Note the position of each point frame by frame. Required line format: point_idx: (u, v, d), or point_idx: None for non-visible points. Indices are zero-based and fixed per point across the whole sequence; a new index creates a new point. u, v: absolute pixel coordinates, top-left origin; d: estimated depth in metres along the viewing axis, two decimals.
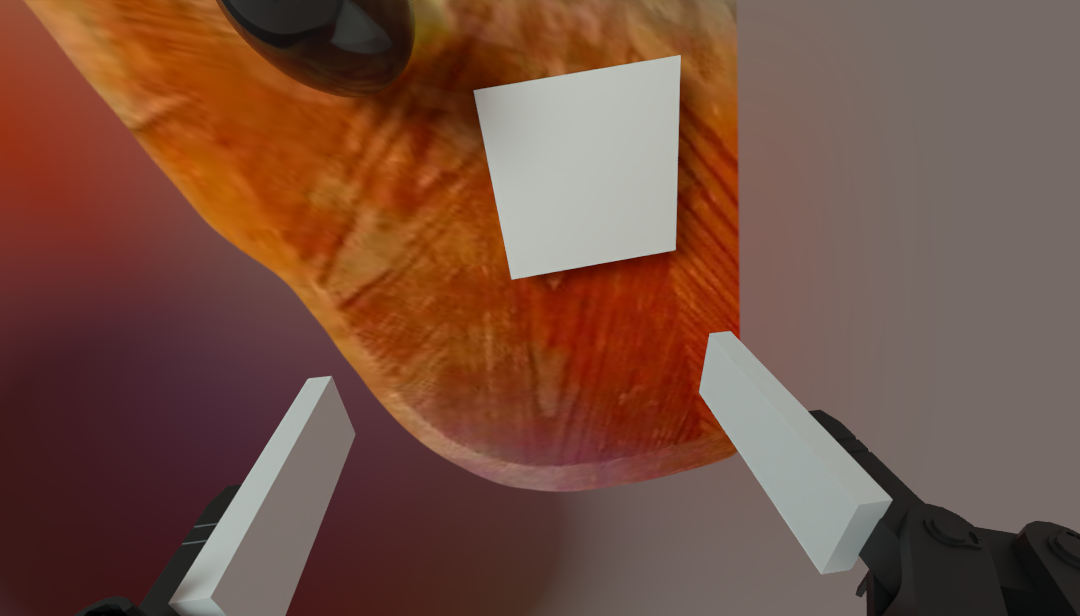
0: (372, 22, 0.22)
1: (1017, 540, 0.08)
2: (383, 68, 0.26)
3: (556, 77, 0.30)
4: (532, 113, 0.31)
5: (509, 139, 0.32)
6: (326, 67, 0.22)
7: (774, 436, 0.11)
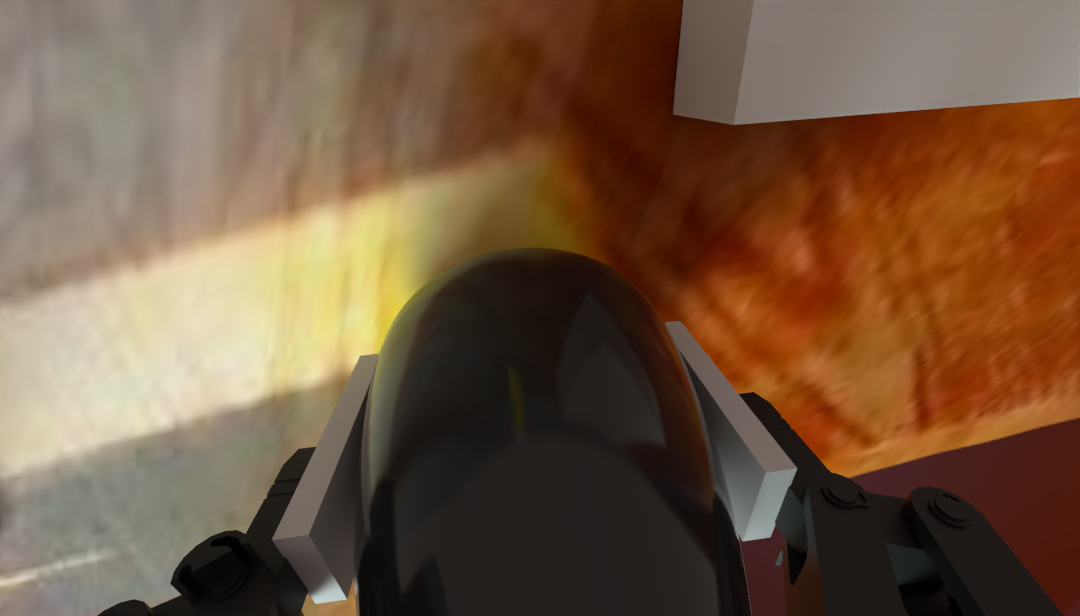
0: (652, 472, 0.07)
1: (905, 507, 0.09)
2: (687, 380, 0.10)
3: None
4: None
5: (902, 17, 0.10)
6: None
7: (707, 416, 0.12)
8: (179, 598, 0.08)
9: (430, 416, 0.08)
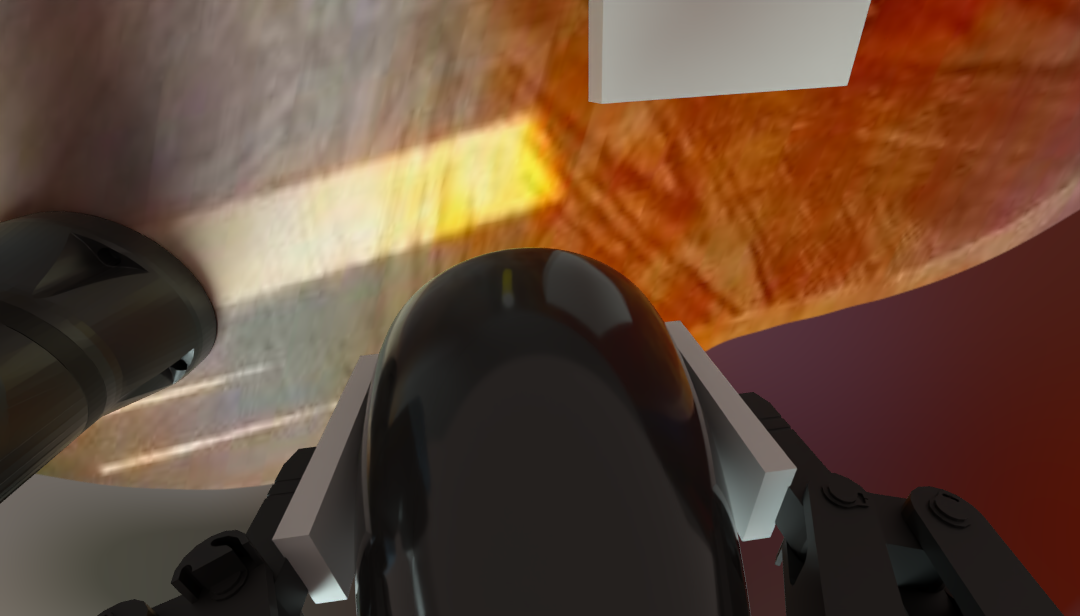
0: (652, 471, 0.07)
1: (905, 507, 0.09)
2: (686, 379, 0.10)
3: None
4: (641, 18, 0.23)
5: (664, 59, 0.24)
6: None
7: (707, 416, 0.12)
8: (179, 598, 0.08)
9: (430, 416, 0.08)
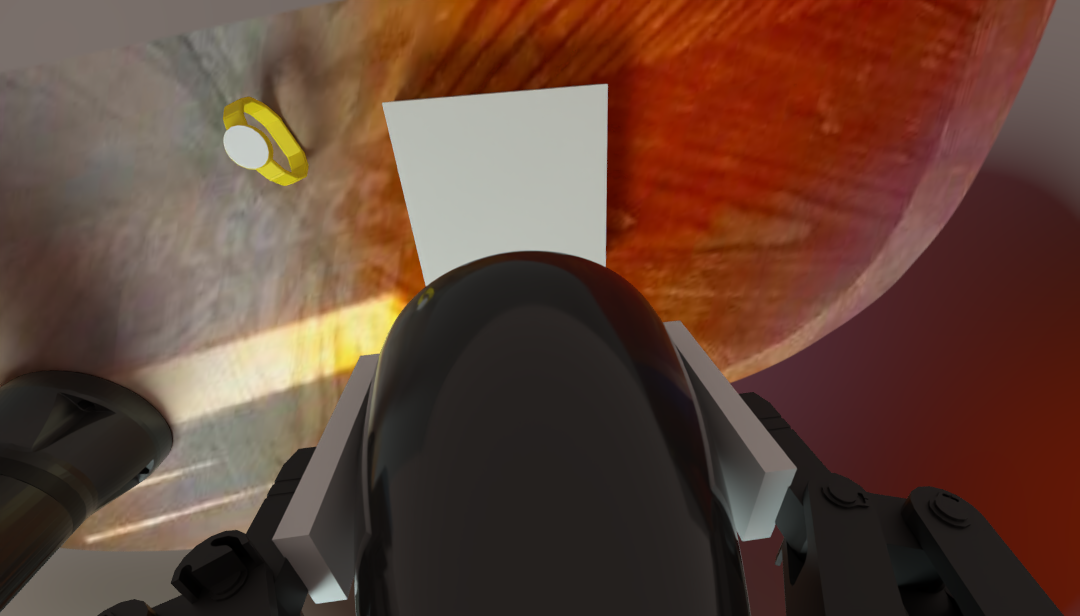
0: (652, 476, 0.07)
1: (905, 507, 0.09)
2: (687, 383, 0.10)
3: (414, 235, 0.32)
4: (446, 257, 0.34)
5: None
6: None
7: (707, 416, 0.12)
8: (179, 598, 0.08)
9: (430, 420, 0.08)
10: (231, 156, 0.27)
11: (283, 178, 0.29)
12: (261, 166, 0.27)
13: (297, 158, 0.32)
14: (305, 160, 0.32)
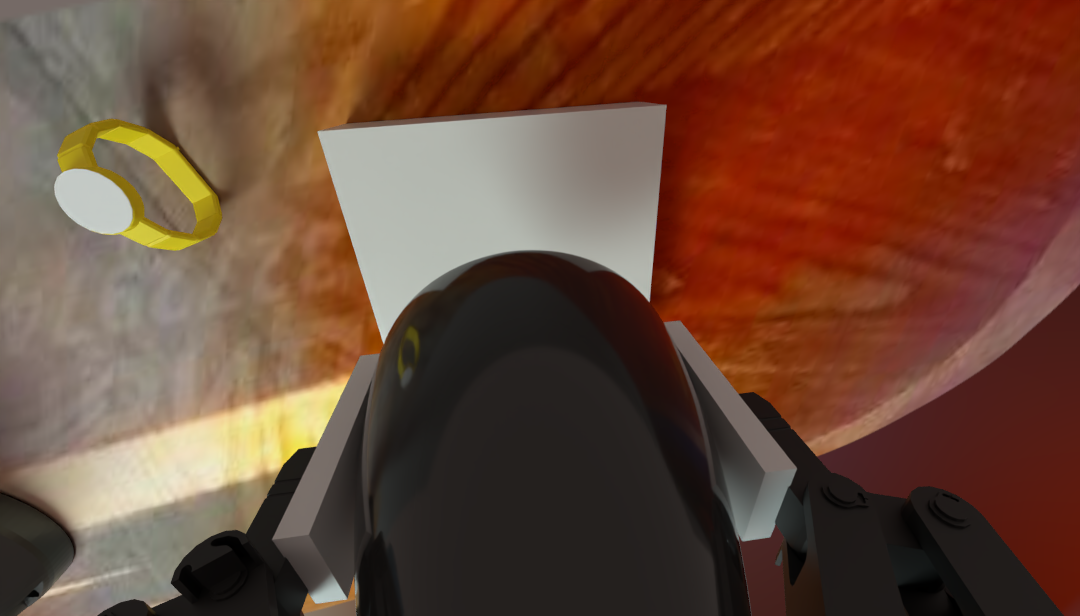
0: (653, 476, 0.07)
1: (905, 507, 0.09)
2: (687, 383, 0.10)
3: (376, 316, 0.22)
4: None
5: None
6: None
7: (707, 416, 0.12)
8: (179, 598, 0.08)
9: (429, 420, 0.08)
10: (71, 216, 0.17)
11: (170, 242, 0.19)
12: (123, 230, 0.17)
13: (206, 205, 0.22)
14: (217, 208, 0.22)
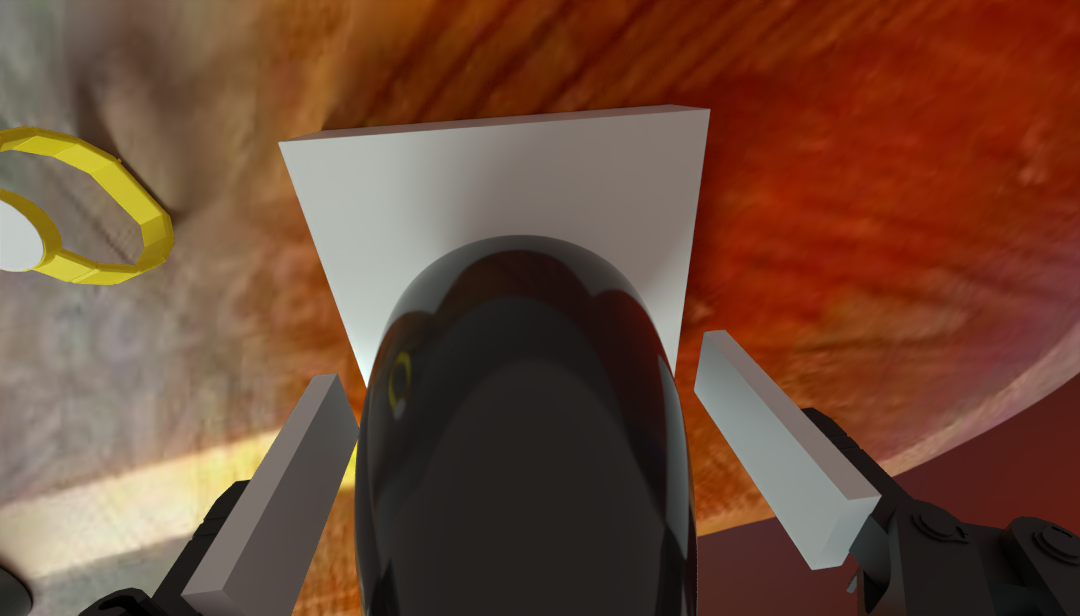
0: (609, 420, 0.08)
1: (1004, 536, 0.08)
2: (657, 354, 0.11)
3: (357, 358, 0.19)
4: None
5: None
6: None
7: (766, 433, 0.11)
8: None
9: (421, 372, 0.09)
10: None
11: (101, 277, 0.16)
12: (34, 266, 0.14)
13: (155, 227, 0.18)
14: (168, 230, 0.18)
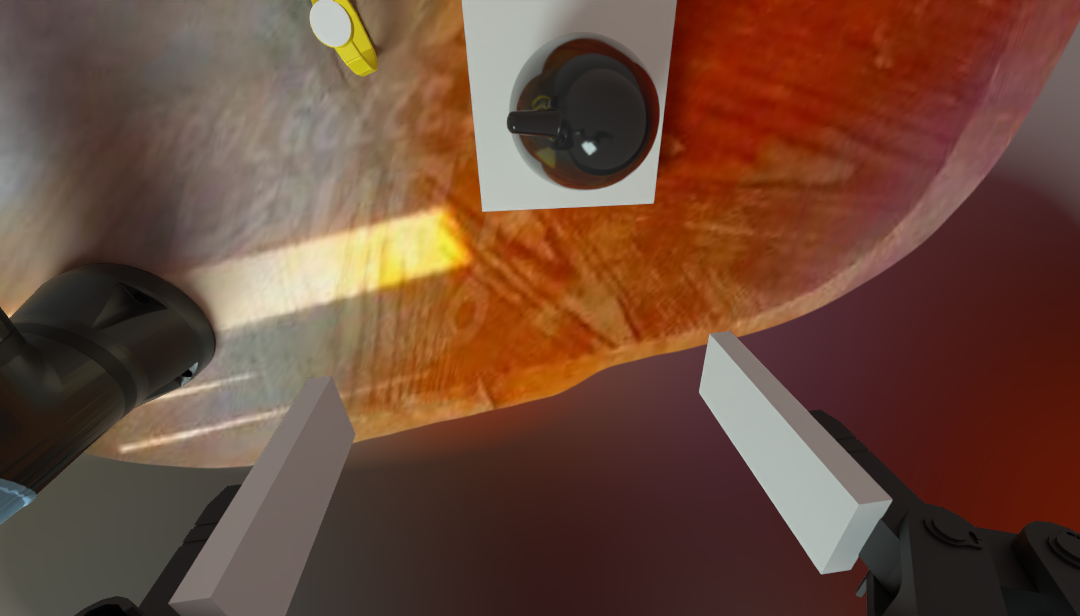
0: (629, 54, 0.22)
1: (1017, 540, 0.08)
2: None
3: (476, 136, 0.33)
4: (503, 162, 0.35)
5: (523, 186, 0.36)
6: (659, 114, 0.23)
7: (774, 436, 0.11)
8: None
9: (557, 49, 0.23)
10: (315, 31, 0.28)
11: (358, 63, 0.30)
12: (342, 44, 0.28)
13: (368, 54, 0.33)
14: (375, 56, 0.33)
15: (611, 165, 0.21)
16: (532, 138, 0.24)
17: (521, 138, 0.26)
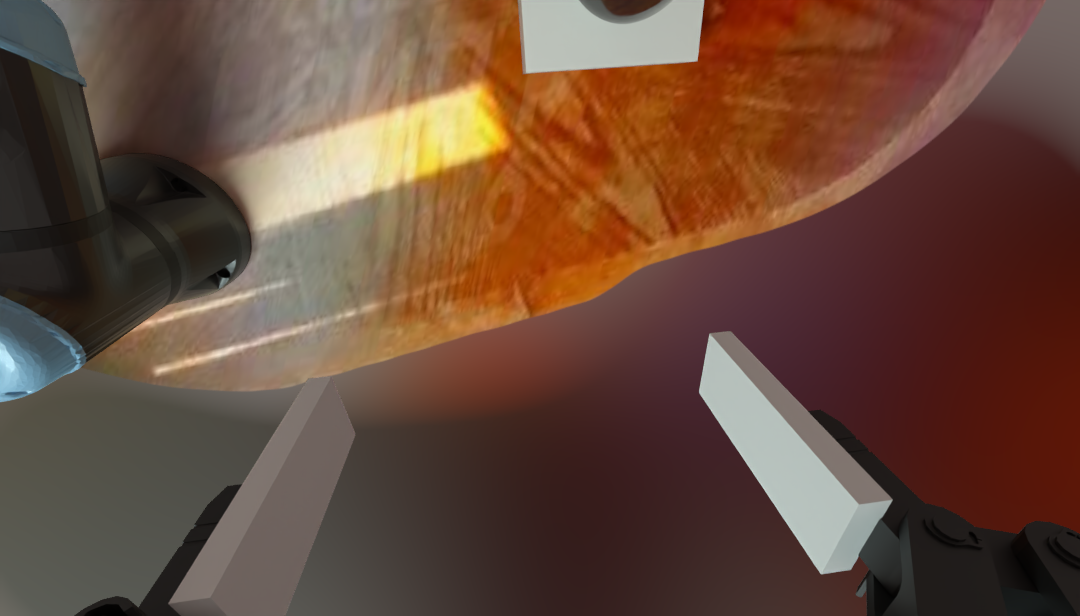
0: None
1: (1017, 540, 0.08)
2: None
3: None
4: (548, 14, 0.34)
5: (567, 42, 0.35)
6: None
7: (774, 436, 0.11)
8: None
9: None
10: None
11: None
12: None
13: None
14: None
15: None
16: None
17: None
